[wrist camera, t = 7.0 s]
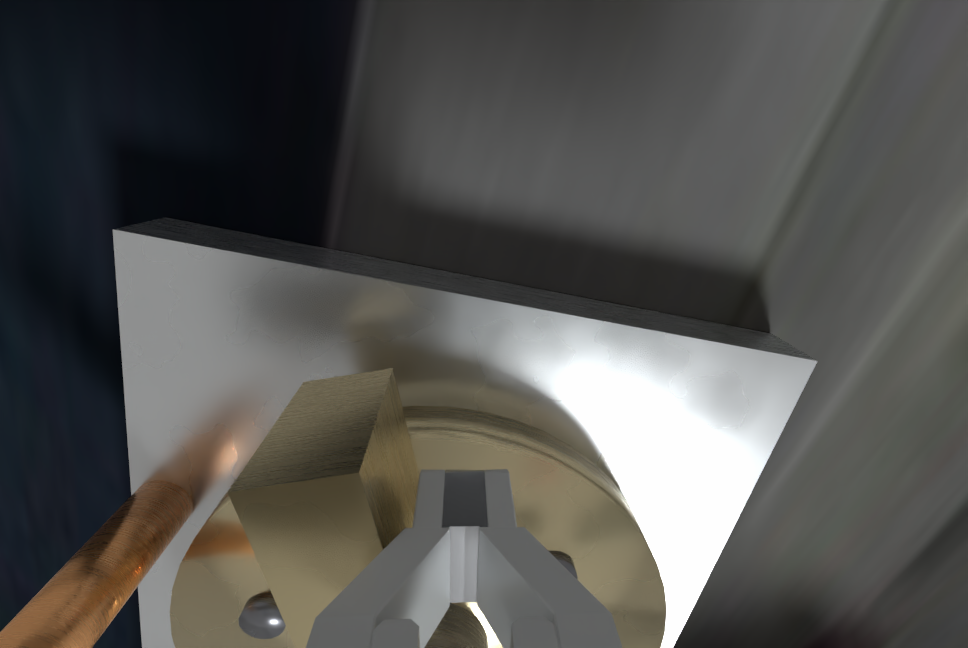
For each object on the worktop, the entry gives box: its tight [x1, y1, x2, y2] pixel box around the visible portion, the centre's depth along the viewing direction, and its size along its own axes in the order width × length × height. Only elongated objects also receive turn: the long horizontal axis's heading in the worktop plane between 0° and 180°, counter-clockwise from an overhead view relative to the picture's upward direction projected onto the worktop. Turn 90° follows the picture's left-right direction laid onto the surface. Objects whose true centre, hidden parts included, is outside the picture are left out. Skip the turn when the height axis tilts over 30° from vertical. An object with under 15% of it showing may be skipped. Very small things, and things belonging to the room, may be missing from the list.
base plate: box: [0, 217, 817, 648], centre depth 14 cm, size 20×18×7 cm
